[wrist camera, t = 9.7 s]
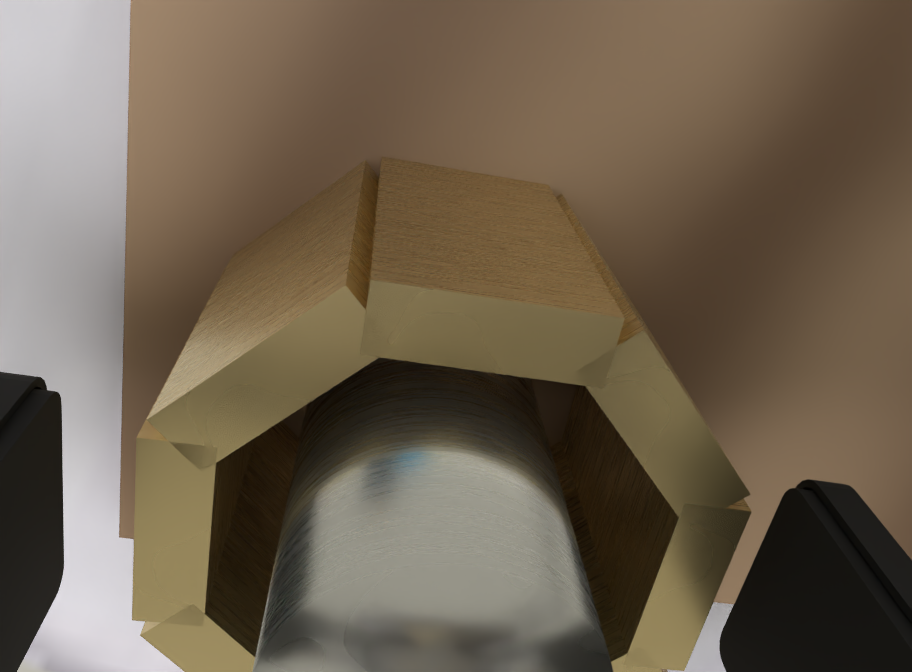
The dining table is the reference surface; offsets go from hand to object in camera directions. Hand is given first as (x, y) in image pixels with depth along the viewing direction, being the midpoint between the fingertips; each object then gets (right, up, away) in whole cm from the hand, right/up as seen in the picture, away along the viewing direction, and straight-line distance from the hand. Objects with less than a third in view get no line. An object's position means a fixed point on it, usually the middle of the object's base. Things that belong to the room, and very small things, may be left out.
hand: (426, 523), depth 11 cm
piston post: (0, +2, +4) cm, 5 cm away
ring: (0, +2, +4) cm, 4 cm away
